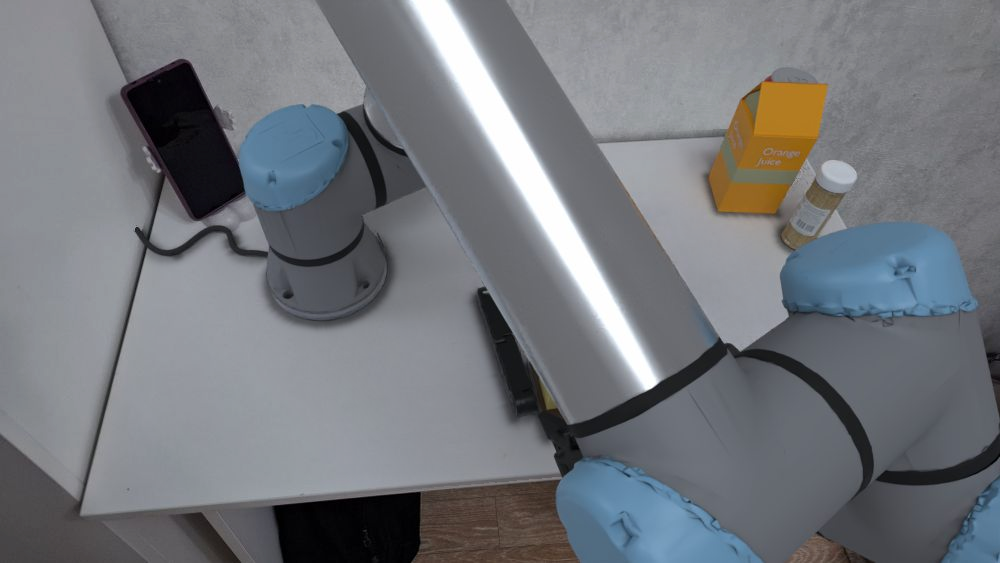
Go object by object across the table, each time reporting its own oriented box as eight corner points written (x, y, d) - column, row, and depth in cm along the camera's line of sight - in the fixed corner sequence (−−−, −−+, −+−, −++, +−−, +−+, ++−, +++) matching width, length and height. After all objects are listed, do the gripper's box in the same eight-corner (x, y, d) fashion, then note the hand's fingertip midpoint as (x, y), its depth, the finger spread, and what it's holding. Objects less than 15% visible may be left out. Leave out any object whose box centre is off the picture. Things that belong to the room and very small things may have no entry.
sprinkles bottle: (818, 243, 89) (866, 174, 78) (797, 256, 87) (843, 187, 77) (793, 223, 91) (836, 153, 81) (773, 236, 90) (814, 166, 79)
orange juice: (775, 214, 92) (839, 102, 76) (717, 212, 92) (768, 99, 76) (763, 178, 97) (820, 65, 81) (707, 176, 97) (753, 63, 81)
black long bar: (536, 416, 71) (539, 404, 69) (515, 421, 71) (517, 410, 68) (494, 294, 81) (495, 280, 79) (475, 298, 81) (475, 284, 78)
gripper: (659, 613, 38) (510, 489, 57) (903, 411, 47) (703, 364, 66) (620, 511, 36) (480, 420, 55) (880, 323, 45) (682, 300, 64)
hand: (601, 389), depth 61 cm, fingers open, 13 cm apart
